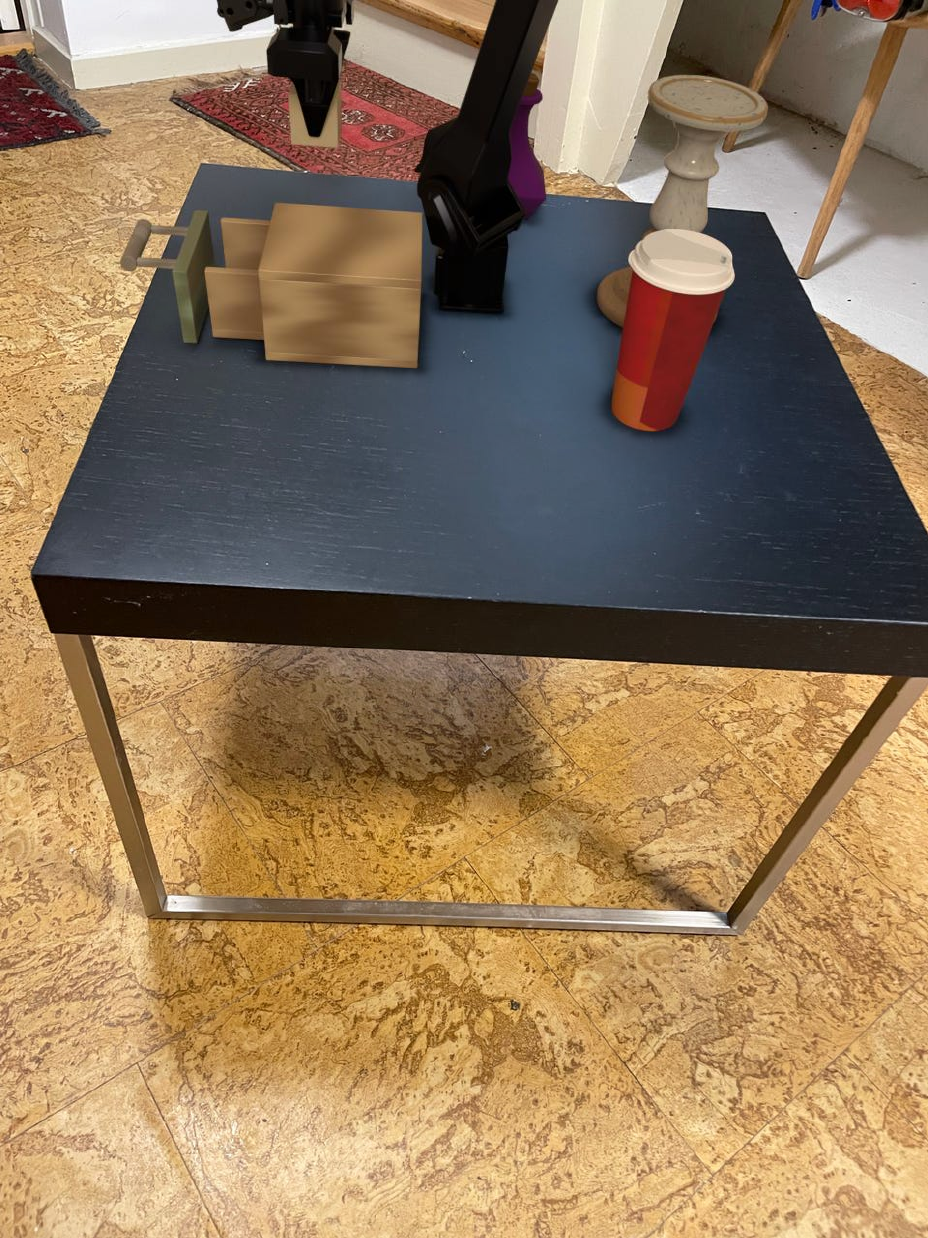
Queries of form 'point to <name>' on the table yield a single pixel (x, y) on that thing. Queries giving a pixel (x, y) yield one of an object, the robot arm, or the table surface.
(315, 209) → the cabinet
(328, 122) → the block
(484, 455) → the table surface
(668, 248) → the coffee cup
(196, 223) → the drawer
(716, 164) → the candle holder
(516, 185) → the perfume bottle
